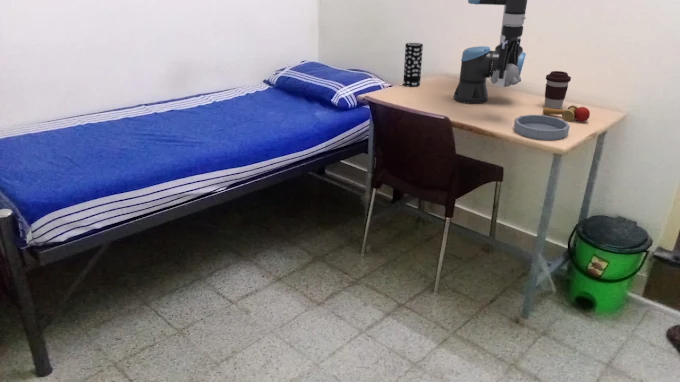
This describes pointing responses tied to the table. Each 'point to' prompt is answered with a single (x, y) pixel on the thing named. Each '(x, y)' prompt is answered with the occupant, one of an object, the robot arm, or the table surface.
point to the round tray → (541, 127)
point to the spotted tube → (412, 64)
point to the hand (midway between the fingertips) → (504, 84)
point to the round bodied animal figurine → (508, 75)
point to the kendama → (569, 113)
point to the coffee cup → (556, 89)
